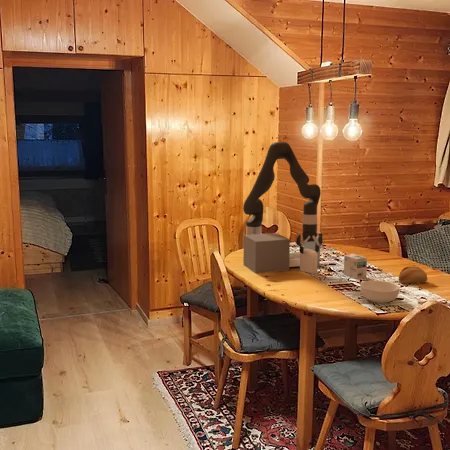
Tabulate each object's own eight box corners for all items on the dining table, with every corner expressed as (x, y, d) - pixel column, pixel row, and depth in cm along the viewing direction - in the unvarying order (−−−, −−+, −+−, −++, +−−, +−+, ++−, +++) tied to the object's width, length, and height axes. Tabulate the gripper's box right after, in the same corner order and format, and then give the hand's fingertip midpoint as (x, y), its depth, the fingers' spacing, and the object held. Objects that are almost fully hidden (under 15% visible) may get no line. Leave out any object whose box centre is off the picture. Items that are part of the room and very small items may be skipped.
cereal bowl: (381, 309, 232) (382, 293, 231) (351, 299, 245) (352, 284, 244) (406, 301, 242) (407, 286, 241) (376, 292, 255) (377, 278, 254)
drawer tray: (273, 261, 310) (274, 234, 307) (304, 258, 316) (305, 232, 313) (287, 269, 293) (287, 241, 290) (319, 266, 299) (320, 238, 296)
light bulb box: (366, 277, 279) (367, 257, 277) (356, 279, 276) (357, 258, 274) (353, 272, 289) (353, 253, 287) (342, 274, 286) (343, 254, 284)
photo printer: (298, 270, 293) (299, 248, 291) (303, 269, 296) (304, 246, 294) (313, 274, 285) (313, 251, 283) (318, 273, 288) (319, 250, 286)
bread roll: (393, 281, 274) (394, 265, 273) (419, 279, 278) (420, 263, 276) (404, 286, 265) (405, 270, 263) (431, 284, 268) (432, 268, 267)
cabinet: (243, 264, 304) (243, 235, 301) (275, 262, 310) (276, 232, 307) (255, 273, 287) (255, 241, 284) (289, 270, 293) (289, 239, 290)
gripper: (318, 220, 291) (317, 250, 294) (294, 222, 287) (293, 252, 290) (325, 222, 284) (324, 253, 287) (300, 224, 280) (300, 255, 283)
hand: (309, 252), depth 288 cm, fingers open, 8 cm apart
